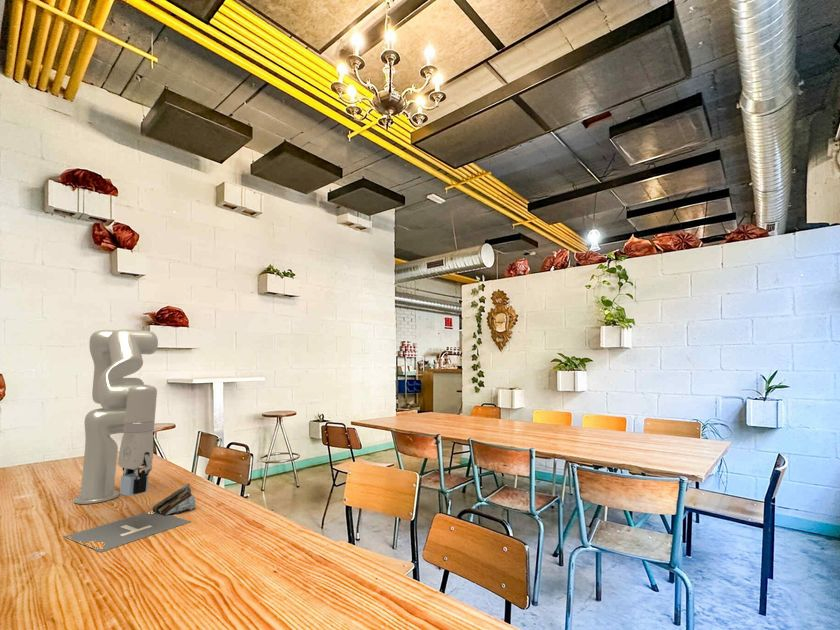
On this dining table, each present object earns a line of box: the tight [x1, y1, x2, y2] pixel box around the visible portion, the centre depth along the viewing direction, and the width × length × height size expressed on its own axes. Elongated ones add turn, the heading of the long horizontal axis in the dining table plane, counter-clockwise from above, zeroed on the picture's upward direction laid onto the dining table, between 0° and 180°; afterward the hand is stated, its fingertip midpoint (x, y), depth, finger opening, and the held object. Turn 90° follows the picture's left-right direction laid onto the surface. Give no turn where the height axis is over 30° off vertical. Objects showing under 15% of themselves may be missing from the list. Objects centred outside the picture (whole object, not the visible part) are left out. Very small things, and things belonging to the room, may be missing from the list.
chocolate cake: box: [152, 483, 196, 515], centre depth 135 cm, size 10×7×12 cm
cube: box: [119, 471, 150, 497], centre depth 121 cm, size 5×5×5 cm
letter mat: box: [63, 511, 192, 553], centre depth 120 cm, size 20×24×1 cm
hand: (134, 490), depth 121 cm, fingers closed on cube, 4 cm apart
